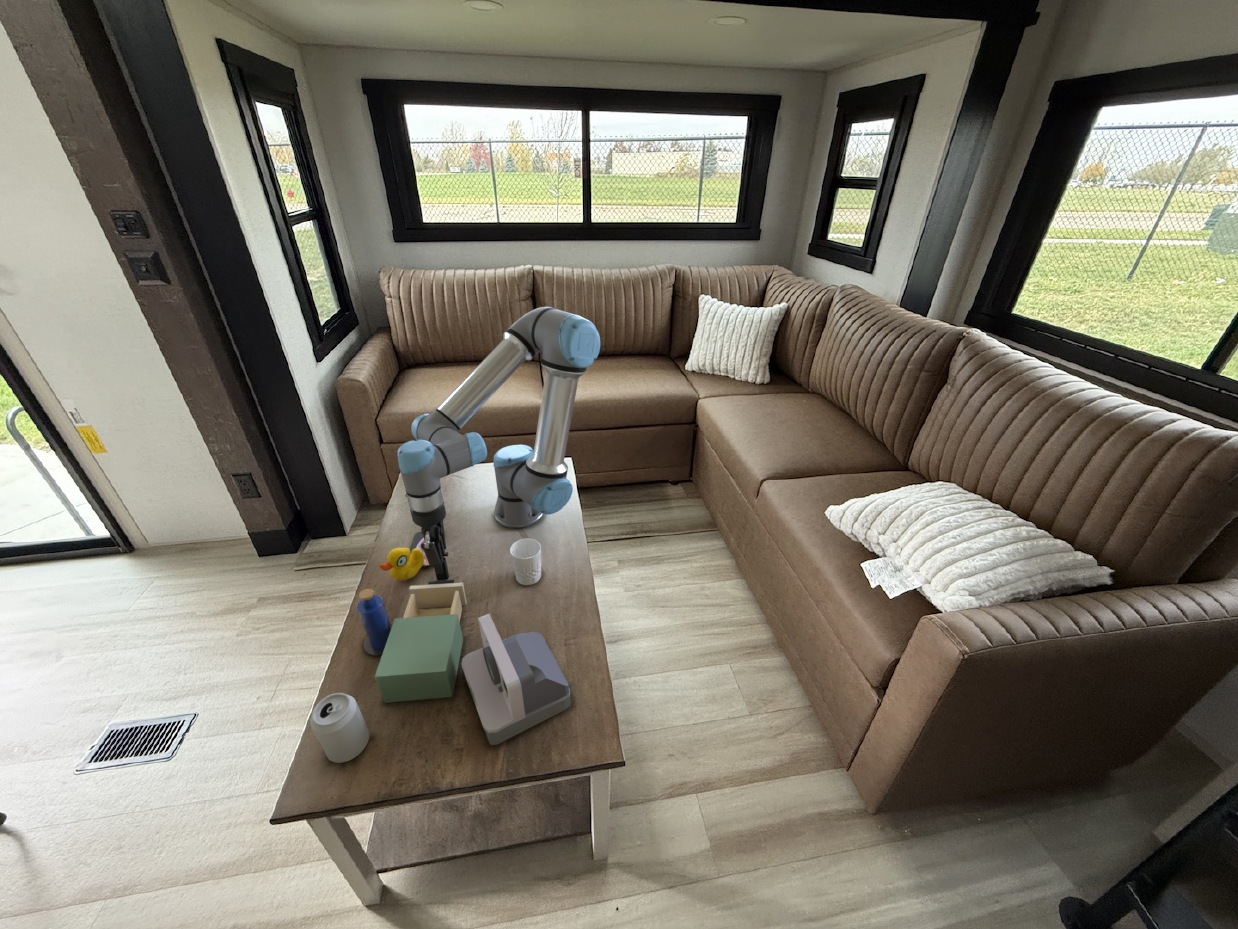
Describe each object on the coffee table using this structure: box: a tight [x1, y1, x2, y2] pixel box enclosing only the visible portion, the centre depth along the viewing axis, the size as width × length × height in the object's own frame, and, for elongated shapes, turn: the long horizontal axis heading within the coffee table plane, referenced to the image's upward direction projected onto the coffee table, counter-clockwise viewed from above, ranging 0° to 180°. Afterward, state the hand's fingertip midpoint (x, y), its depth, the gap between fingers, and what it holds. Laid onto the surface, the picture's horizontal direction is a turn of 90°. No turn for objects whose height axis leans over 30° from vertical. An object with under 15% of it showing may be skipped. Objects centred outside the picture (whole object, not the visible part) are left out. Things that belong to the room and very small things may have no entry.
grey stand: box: [461, 613, 572, 746], centre depth 101 cm, size 21×21×15 cm
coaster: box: [363, 625, 392, 657], centre depth 115 cm, size 8×8×1 cm
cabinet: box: [374, 614, 464, 704], centre depth 107 cm, size 15×14×9 cm
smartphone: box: [409, 531, 431, 569], centre depth 141 cm, size 8×1×15 cm
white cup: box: [509, 537, 542, 586], centre depth 131 cm, size 8×8×10 cm
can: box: [309, 692, 370, 764], centre depth 91 cm, size 8×8×12 cm
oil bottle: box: [356, 588, 392, 650], centre depth 111 cm, size 5×5×15 cm
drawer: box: [402, 578, 468, 622], centre depth 118 cm, size 18×12×7 cm
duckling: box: [379, 547, 424, 581], centre depth 129 cm, size 11×5×10 cm, turn 144°
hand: (443, 578), depth 127 cm, fingers closed
